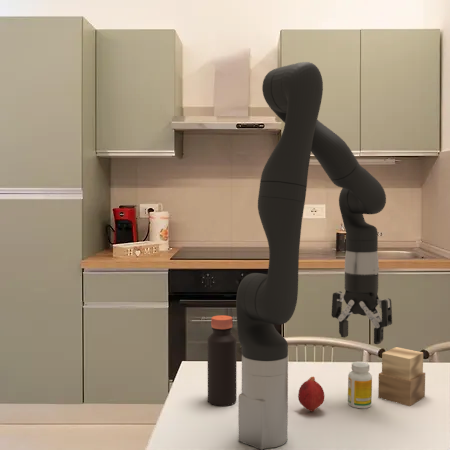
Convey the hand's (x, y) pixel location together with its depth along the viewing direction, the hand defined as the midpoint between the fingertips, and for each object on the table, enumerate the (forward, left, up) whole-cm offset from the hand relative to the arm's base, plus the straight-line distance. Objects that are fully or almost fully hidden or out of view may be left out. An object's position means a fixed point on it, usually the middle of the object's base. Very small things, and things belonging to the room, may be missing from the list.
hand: (360, 340), depth 135 cm
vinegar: (-20, +25, -15) cm, 36 cm away
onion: (-11, +6, -15) cm, 20 cm away
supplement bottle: (0, 0, -15) cm, 15 cm away
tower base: (+11, -5, -15) cm, 19 cm away
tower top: (+11, -5, -9) cm, 15 cm away
